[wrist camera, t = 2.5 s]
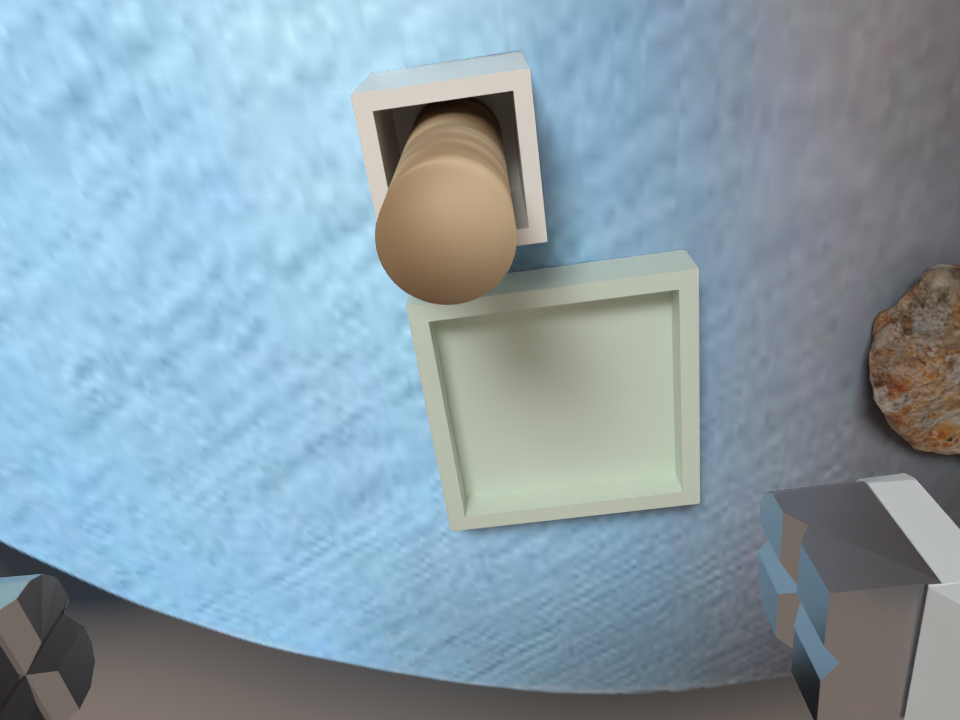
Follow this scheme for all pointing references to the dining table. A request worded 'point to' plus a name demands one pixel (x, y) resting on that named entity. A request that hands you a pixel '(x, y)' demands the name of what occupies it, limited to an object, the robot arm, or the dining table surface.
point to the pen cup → (492, 79)
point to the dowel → (449, 206)
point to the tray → (565, 391)
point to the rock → (921, 362)
